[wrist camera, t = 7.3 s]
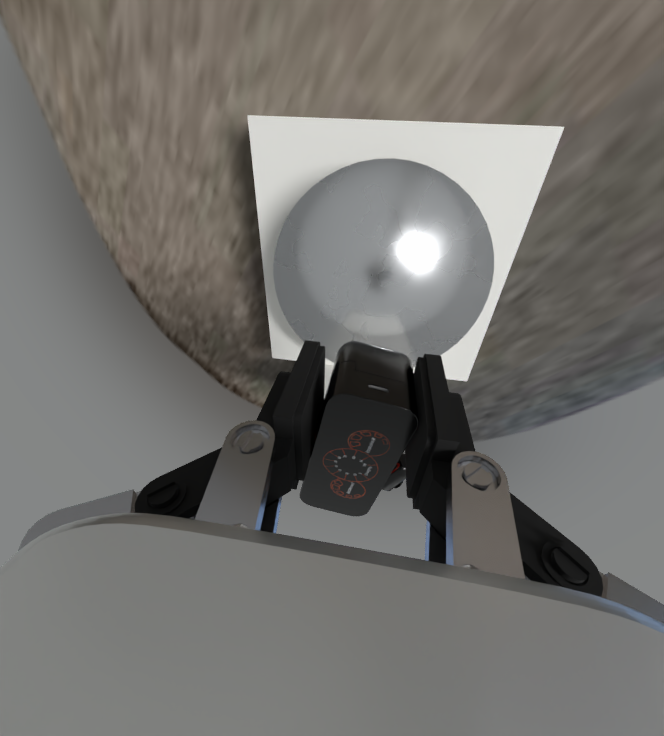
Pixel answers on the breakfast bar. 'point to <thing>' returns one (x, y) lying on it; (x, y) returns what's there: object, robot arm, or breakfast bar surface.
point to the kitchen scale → (391, 230)
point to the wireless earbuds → (362, 430)
